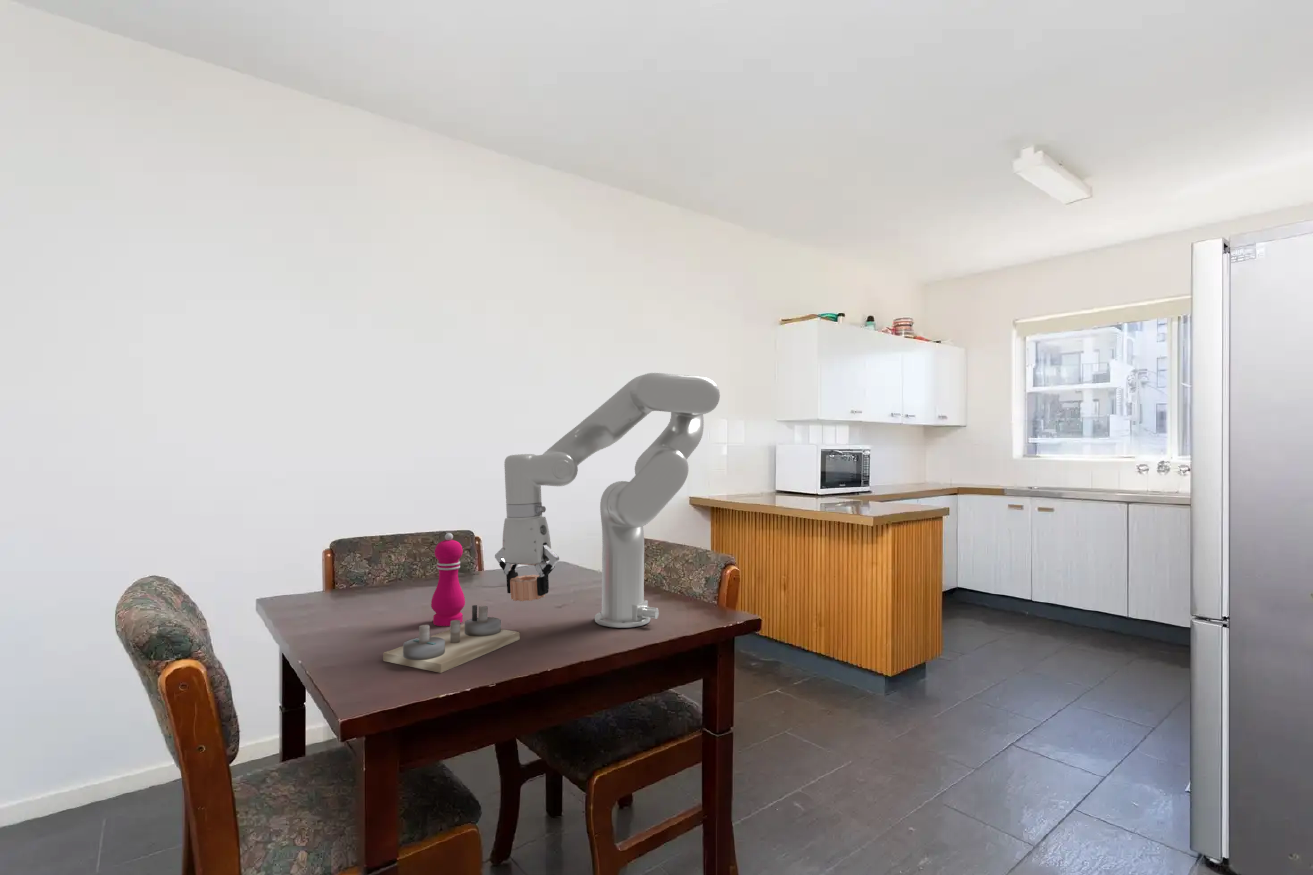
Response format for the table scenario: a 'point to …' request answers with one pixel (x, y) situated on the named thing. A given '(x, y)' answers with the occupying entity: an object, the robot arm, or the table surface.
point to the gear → (524, 588)
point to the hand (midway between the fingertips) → (527, 592)
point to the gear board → (453, 643)
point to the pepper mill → (448, 583)
